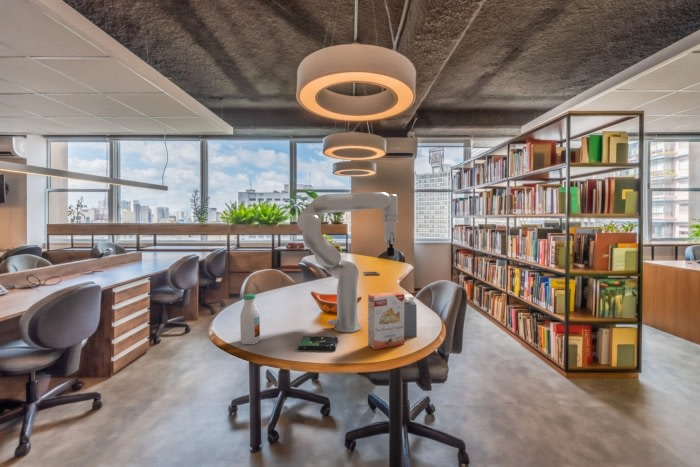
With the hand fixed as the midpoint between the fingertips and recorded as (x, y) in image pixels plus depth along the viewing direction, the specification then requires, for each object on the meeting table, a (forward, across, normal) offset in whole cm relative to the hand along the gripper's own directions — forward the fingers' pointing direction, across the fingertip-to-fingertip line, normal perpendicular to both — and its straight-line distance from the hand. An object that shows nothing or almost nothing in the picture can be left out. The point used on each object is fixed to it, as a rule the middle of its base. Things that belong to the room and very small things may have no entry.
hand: (390, 255), depth 157 cm
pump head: (+29, +20, +4) cm, 35 cm away
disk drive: (+34, +31, -34) cm, 57 cm away
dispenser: (+33, +18, +4) cm, 38 cm away
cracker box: (+33, +31, -6) cm, 46 cm away
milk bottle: (+33, +25, -63) cm, 76 cm away
